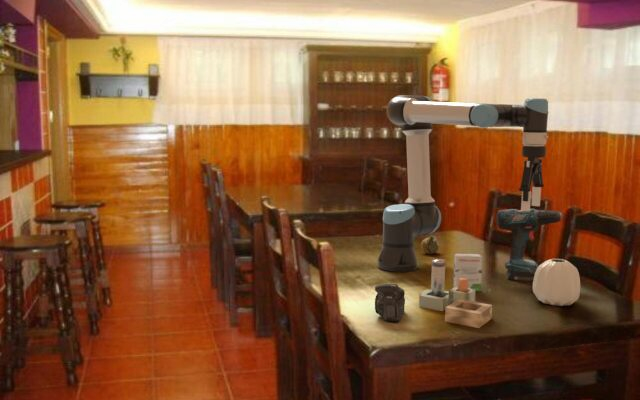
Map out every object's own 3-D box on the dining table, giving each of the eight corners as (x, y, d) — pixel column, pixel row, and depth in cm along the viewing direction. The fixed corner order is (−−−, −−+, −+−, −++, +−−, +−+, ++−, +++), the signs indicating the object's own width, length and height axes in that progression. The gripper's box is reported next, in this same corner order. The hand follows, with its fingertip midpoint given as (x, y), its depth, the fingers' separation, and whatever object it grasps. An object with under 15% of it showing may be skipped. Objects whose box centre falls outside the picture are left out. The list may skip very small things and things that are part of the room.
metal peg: (428, 305, 194) (429, 260, 192) (433, 302, 197) (435, 258, 195) (440, 308, 191) (442, 262, 190) (446, 304, 195) (447, 259, 193)
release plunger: (456, 296, 189) (457, 279, 188) (460, 293, 191) (460, 277, 190) (465, 297, 187) (466, 281, 187) (469, 295, 190) (469, 279, 189)
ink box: (478, 287, 214) (480, 253, 212) (481, 291, 209) (483, 256, 208) (452, 287, 214) (454, 252, 213) (455, 291, 210) (456, 256, 208)
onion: (442, 252, 268) (443, 233, 266) (435, 256, 261) (435, 237, 260) (425, 250, 272) (426, 232, 270) (418, 253, 265) (418, 235, 264)
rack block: (444, 321, 179) (445, 307, 179) (458, 312, 187) (458, 299, 187) (479, 328, 174) (479, 314, 173) (491, 318, 182) (492, 304, 181)
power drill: (563, 282, 221) (567, 211, 217) (494, 279, 225) (497, 209, 222) (559, 276, 229) (563, 207, 226) (493, 273, 234) (496, 205, 230)
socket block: (416, 306, 193) (416, 287, 192) (429, 298, 201) (429, 280, 200) (465, 315, 184) (465, 295, 184) (476, 307, 192) (477, 288, 191)
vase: (575, 312, 188) (577, 267, 187) (527, 304, 196) (529, 261, 194) (583, 300, 200) (586, 258, 198) (538, 293, 207) (540, 253, 206)
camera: (369, 309, 190) (370, 277, 188) (402, 309, 190) (403, 276, 189) (377, 324, 176) (378, 289, 175) (412, 323, 177) (413, 289, 176)
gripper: (536, 147, 200) (532, 214, 203) (554, 144, 221) (550, 204, 224) (512, 146, 204) (509, 212, 207) (532, 143, 225) (528, 203, 228)
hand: (530, 208), depth 215 cm, fingers open, 13 cm apart
